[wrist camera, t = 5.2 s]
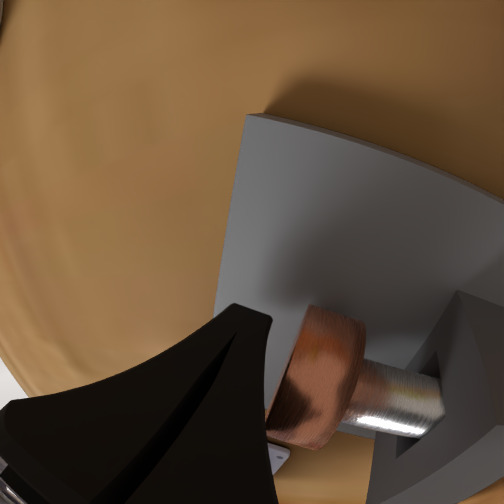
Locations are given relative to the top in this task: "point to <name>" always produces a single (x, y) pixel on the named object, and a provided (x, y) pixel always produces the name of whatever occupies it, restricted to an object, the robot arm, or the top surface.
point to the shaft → (346, 387)
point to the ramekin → (0, 9)
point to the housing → (378, 286)
